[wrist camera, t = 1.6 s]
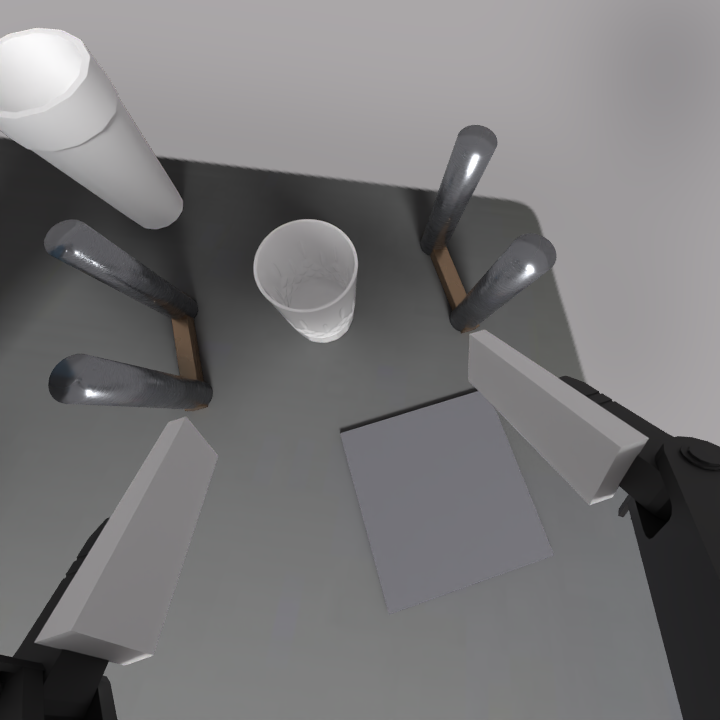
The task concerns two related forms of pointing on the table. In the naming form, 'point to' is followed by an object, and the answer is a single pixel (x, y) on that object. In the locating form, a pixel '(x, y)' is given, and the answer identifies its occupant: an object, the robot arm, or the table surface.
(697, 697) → the robot arm
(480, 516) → the mat
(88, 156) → the foam cup
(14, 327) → the table surface
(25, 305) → the table surface
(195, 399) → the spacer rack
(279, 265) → the white cup
